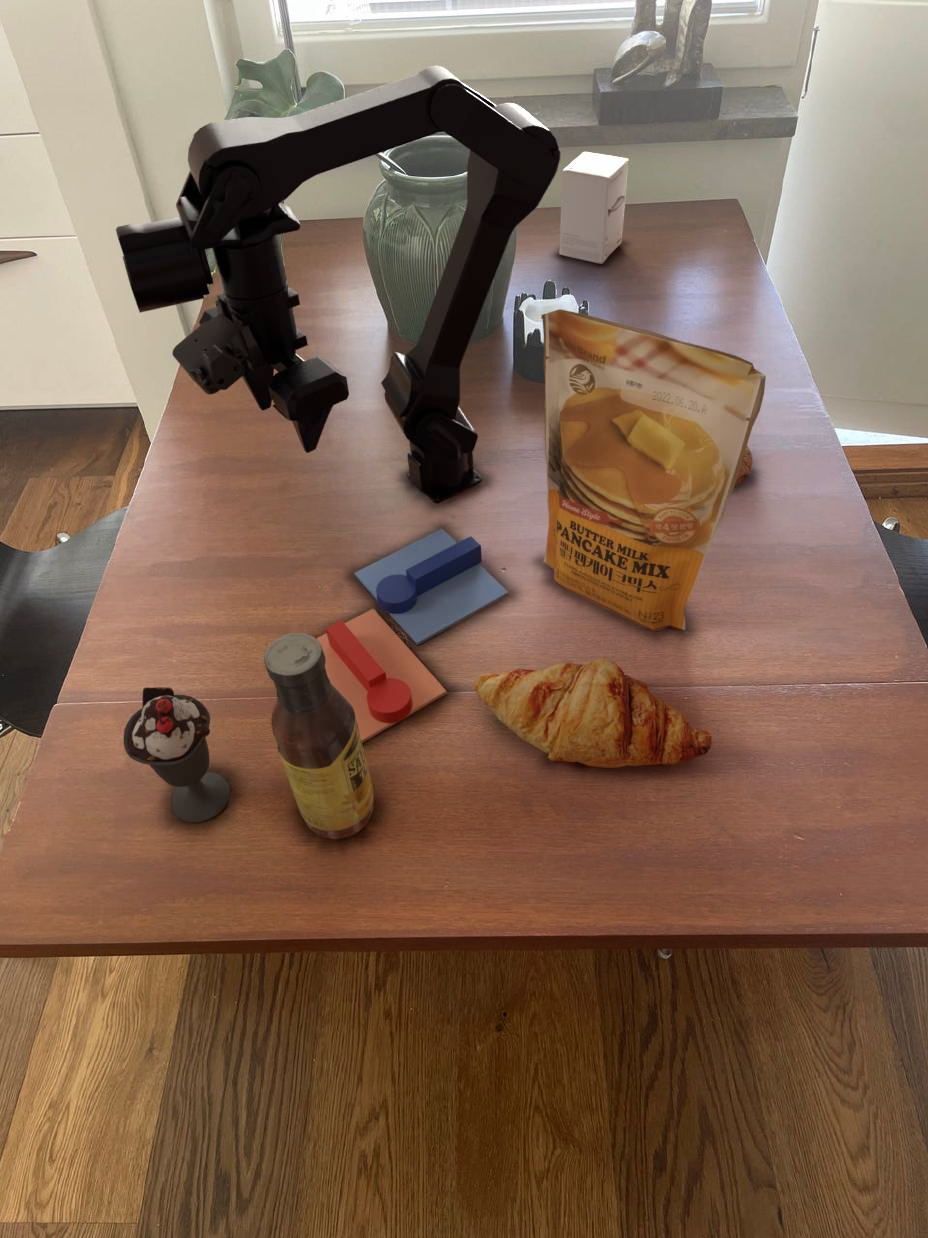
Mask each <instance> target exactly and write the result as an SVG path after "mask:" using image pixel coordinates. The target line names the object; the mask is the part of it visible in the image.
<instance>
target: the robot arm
mask: <svg viewBox="0 0 928 1238" xmlns="http://www.w3.org/2000/svg"><path fill="white" fill-rule="evenodd" d="M438 133H444V134H446V135H448V136H450V137H451V138H453V139H454V140H455V141H457V142H459V143H460V144H462V145H463V146H464V147H466V149H468V150H469V154H468V159H467V165H466V206H465V210H464V213H463V216H462V219H461V222H460V224H459V227H458V231H457V233H456V236H455V239H454V241H453V244H452V247H451V250H450V252H449V256H448V258H447V261H446V263H445V266H444V269H443V273H442V275H441V278H440V281H439V284H438V287H437V289H436V292H435V295H434V298H433V301H432V303H431V305H430V308H429V312H428V315H427V316H426V320H425V323H424V325H423V329H422V332H421V335H420V337H419V340H418V341H417V344H416V345H415V346H414V347H412V348H411V349H410V350H409V352H407V353H406V354H403V353H400V352H397V351H394V352H393V353H392V354H391V357H390V364H389V368H388V371H387V373H386V375H385V377H384V378H383V380H382V381H381V382H380V384H381V386H382V388H383V390H384V393H383V394H384V400H385V402H386V405H387V407H388V408H389V410H390V412H391V413H392V415H393V417H394V419H395V421H396V422H397V424H398V426H399V427H400V429H401V431H402V433H403V434H404V436H405V438H406V439H407V441H408V443H409V451H410V452H408V453H407V456H406V457H407V465H408V471H406V473H405V475H406V479H408V480H409V481H410V483H411V484H412V485H413V486H414V487H415V488H416V489H417V490H418V491H419V492H420V493H421V494H424V495H425V496H426V497H427V498H428V499H429V500H430V501H431V502H432V503H434V504H436V505H439V504H441V503H443V502H445V501H447V500H449V499H451V498H454V497H455V496H458V495H459V494H461V493H463V492H465V491H467V490H469V489H471V488H473V487H475V486H478V485H480V484H481V483H482V482H483V476H481V475H480V474H479V473H478V472H477V471H476V470H475V469H474V454H473V453H474V450H475V448H476V445H477V442H478V438H479V435H478V433H477V431H476V430H475V428H474V427H473V425H472V423H471V422H470V421H469V419H468V418H467V416H466V415H465V413H464V412H463V410H462V408H461V407H460V402H461V365H462V362H463V359H464V357H465V354H466V352H467V349H468V347H469V344H470V342H471V339H472V337H473V335H474V331H475V329H476V326H477V324H478V321H479V319H480V316H481V313H482V310H484V309H483V308H484V306H485V303H486V301H487V298H488V297H489V296H488V295H489V293H490V291H491V288H492V285H493V282H494V281H495V278H496V275H497V273H498V270H499V268H500V265H501V263H502V261H503V257H504V255H505V253H506V250H507V248H508V244H509V242H510V240H511V237H512V235H513V232H514V230H515V229H516V228H517V226H518V225H519V224H521V222H523V221H524V220H525V219H526V218H527V217H528V216H529V215H530V214H531V213H532V212H534V211H535V210H536V209H537V208H538V206H539V205H540V204H541V201H542V200H543V198H544V196H545V194H546V192H547V191H548V189H549V187H550V186H551V185H552V182H553V180H554V178H555V177H556V174H557V172H558V171H559V166H560V163H561V155H562V154H561V151H560V148H559V145H558V141H557V138H556V137H555V136H554V135H553V133H552V131H551V130H550V129H548V128H547V127H546V126H545V125H543V124H542V123H541V122H540V121H539V120H538V119H536V118H535V117H534V116H533V115H531V114H530V113H529V112H528V111H526V109H524V108H523V107H521V106H520V105H518V104H516V103H511V102H504V103H500V104H499V103H498V104H495V103H493V102H492V101H490V100H489V99H488V98H486V97H485V96H484V95H482V94H480V93H479V92H478V91H475V90H474V89H472V88H471V87H469V86H468V85H466V84H465V83H463V82H462V81H460V80H459V79H458V78H457V77H456V76H455V75H454V74H452V73H451V72H450V71H449V70H448V69H447V68H446V67H443V66H440V65H431V66H426V67H425V68H423V69H421V70H419V72H418V73H415V74H413V75H411V76H407V77H404V78H402V79H398V80H395V81H393V82H390V83H387V84H383V85H380V86H378V87H375V88H372V89H368V90H366V91H363V92H360V93H357V94H354V95H351V96H349V97H344V98H341V99H340V100H336V101H333V102H331V103H328V104H325V105H321V106H318V107H316V108H313V109H310V110H308V111H304V112H302V113H297V114H295V115H292V116H284V117H263V116H262V117H259V116H245V117H239V118H232V119H224V120H217V121H213V122H208V123H207V124H205V125H203V126H201V127H200V128H199V129H197V130H196V132H194V134H193V137H192V140H191V142H190V144H189V147H188V153H187V162H188V167H189V172H188V174H187V176H186V179H185V181H184V184H183V186H182V188H181V191H180V193H179V195H178V199H177V201H176V204H175V208H176V210H177V213H178V215H179V216H177V217H172V218H166V219H163V220H161V219H160V220H156V221H152V222H146V223H141V224H140V223H139V224H138V223H137V224H136V223H130V224H125V225H124V224H123V225H120V226H117V227H116V228H115V232H116V237H117V239H118V243H119V246H120V249H121V252H122V260H123V264H124V268H125V271H126V275H127V278H128V282H129V286H130V288H131V292H132V294H133V297H134V300H135V304H136V307H137V309H138V312H139V313H140V314H141V313H146V312H149V311H150V312H151V311H153V310H158V309H163V308H167V307H171V306H176V305H180V304H185V303H190V302H194V301H195V302H196V301H199V300H203V299H205V296H207V295H210V289H209V285H214V278H213V274H212V271H211V267H210V263H209V259H208V256H207V253H206V250H209V249H211V251H212V254H213V258H214V262H215V266H216V269H217V270H216V271H217V274H218V277H219V281H220V286H221V289H222V292H221V293H218V294H216V299H215V301H214V303H215V306H214V307H211V308H208V309H206V310H204V312H203V313H202V314H201V317H200V319H199V321H198V327H196V328H195V329H194V330H193V331H192V332H190V333H189V334H188V335H187V336H186V337H184V338H183V339H182V340H181V341H180V342H178V344H176V345H175V346H174V347H173V349H172V353H171V354H172V356H173V358H174V359H175V360H176V361H177V363H178V364H179V365H180V366H181V367H182V368H183V370H184V371H185V372H186V373H187V375H188V376H189V377H190V379H191V380H192V381H193V382H194V383H196V385H197V386H198V387H199V388H200V389H201V390H202V391H203V392H204V394H205V393H206V395H213V394H217V393H219V392H220V391H226V390H228V389H229V388H230V387H231V386H233V385H234V384H235V383H236V382H238V381H239V380H240V379H241V378H242V380H243V381H244V383H245V385H246V386H247V388H248V390H249V392H250V393H251V395H252V397H253V399H254V400H255V402H256V404H257V406H258V408H259V409H260V410H261V411H266V410H269V409H270V408H271V407H273V408H274V409H275V410H276V411H277V412H278V413H279V414H280V415H281V416H282V417H284V418H285V419H286V420H288V421H290V422H292V425H293V427H294V429H295V432H296V435H297V437H298V440H299V442H300V444H301V446H302V448H303V451H304V452H305V453H306V454H310V453H311V452H313V451H315V450H317V447H318V444H319V442H320V439H321V436H322V434H323V431H324V428H325V425H326V423H327V420H328V418H329V415H330V413H331V412H332V410H333V407H334V406H335V405H337V404H340V403H343V402H345V401H346V400H348V398H349V395H350V390H349V384H348V379H347V376H346V375H345V374H344V373H343V372H342V371H340V370H339V369H337V368H336V367H335V366H334V365H333V364H332V363H330V362H329V361H328V360H326V359H324V358H322V357H320V356H318V355H316V356H314V357H311V358H309V359H307V360H304V359H303V358H302V357H301V356H300V355H298V354H297V351H298V350H300V349H302V348H304V347H308V346H309V344H308V338H307V335H306V334H305V333H304V332H302V331H301V330H300V329H299V328H297V324H296V323H297V322H296V319H295V313H294V309H293V308H295V307H297V306H300V305H301V301H300V296H299V294H298V293H297V292H296V291H295V290H293V289H292V288H291V287H290V286H289V283H288V279H287V274H286V273H287V272H286V268H285V263H284V258H283V252H282V248H281V242H280V238H279V236H280V235H283V234H287V233H292V232H298V231H299V230H300V229H301V223H300V221H299V219H298V218H297V216H296V214H295V213H294V211H293V210H292V208H291V207H290V206H288V205H286V204H284V203H283V202H284V201H286V200H287V199H288V198H289V197H290V196H291V195H292V194H293V193H294V192H295V191H296V190H297V189H298V188H299V187H300V186H301V185H303V183H305V182H307V181H309V180H310V179H312V178H314V177H315V176H318V175H320V174H323V173H326V172H329V171H332V170H336V169H338V168H341V167H344V166H346V165H350V164H352V163H355V162H359V161H360V160H364V159H367V158H369V157H372V156H375V155H378V154H381V153H384V152H388V151H389V150H392V149H395V148H398V147H401V146H404V145H407V144H410V143H412V142H416V141H418V140H421V139H423V138H427V137H430V136H433V135H435V134H438ZM275 371H276V373H275ZM272 402H273V404H272Z"/></svg>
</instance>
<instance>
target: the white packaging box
mask: <svg viewBox="0 0 928 1238" xmlns="http://www.w3.org/2000/svg"><path fill="white" fill-rule="evenodd" d="M628 171H629V158H626V157H621V156H620V157H619V156H613V155H608V154H602V153H595V152H589V151H583V152H582V153H580V154H579V155H578V156H577V157H576V158H575V159H573V160H572V161H571V162H570V163H569V164H568V165H567V166H566V167H565V168H563V169H562V171H561V175H562V176H561V196H560V198H561V199H560V200H561V201H560V227H559V229H560V231H559V252H558V253H559V255H560V256H564V257H568V258H573V259H577V260H582V261H585V262H586V261H587V262H591V263H595V264H600V265H603V263H604V262H605V261H606V260H607V259H608V257H610V255H611V254H612V253H613V252H614V251H616V250H617V248H618V247H619V246H620V245H621V244H622V241H623V232H624V221H625V220H624V219H625V207H626V196H627V184H628V183H627V182H628ZM621 238H622V239H621ZM620 239H621V240H620ZM619 240H620V241H619ZM618 241H619V242H618ZM617 242H618V243H617ZM606 254H607V255H606ZM588 255H589V256H588ZM605 255H606V256H605Z"/></svg>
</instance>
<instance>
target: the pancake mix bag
mask: <svg viewBox="0 0 928 1238" xmlns="http://www.w3.org/2000/svg"><path fill="white" fill-rule="evenodd" d="M540 316H541V319H542V330H543V374H544V405H543V406H544V408H543V413H544V455H545V463H546V484H547V486H546V487H547V500H546V501H547V508H548V528H547V529H548V530H547V535H546V536H547V537H546V546H545V552H544V555H543V558H542V562H543V563H544V564H545V565H547V566H548V567H549V568H551V569H553V581H554V582H555V583H557V584H559V586H560V587H562V588H564V589H565V590H566V591H569V592H571V593H573V594H575V595H577V596H579V597H581V598H583V599H585V600H586V601H588V602H591V603H593V604H594V605H597V606H599V607H601V608H603V609H605V610H608V611H609V612H612V613H614V614H616V615H618V616H620V617H621V618H623V619H625V620H627V621H629V622H631V623H633V624H635V625H636V626H640V627H642V628H644V629H647V630H649V631H652V632H655V633H656V632H659V631H662V630H664V629H667V628H669V627H670V628H674V629H678V630H683V631H686V615H685V608H686V606H687V604H688V603H689V600H690V598H691V595H692V594H693V591H694V589H695V586H696V585H697V582H698V580H699V578H700V575H701V571H702V569H703V566H704V563H705V561H706V558H707V554H708V553H709V550H710V547H711V545H712V543H713V540H714V538H715V535H716V533H717V530H718V528H719V526H720V523H721V521H722V518H723V516H724V513H725V510H726V506H727V503H728V501H729V499H730V497H731V495H732V494H733V491H734V489H735V486H736V485H735V483H736V479H737V476H738V473H739V469H740V466H741V462H742V459H743V456H744V453H745V449H746V446H748V443H749V439H750V437H751V433H752V430H753V427H754V425H755V423H756V420H757V419H758V416H759V414H760V411H761V407H762V404H763V400H764V396H765V388H766V379H767V378H766V377H767V376H766V375H765V374H764V373H762V372H760V371H759V370H757V369H756V368H755V366H754V363H753V362H752V361H748V360H747V359H744V358H742V357H740V356H737V355H736V354H732V353H728V352H725V351H721V350H719V349H713V348H710V347H706V346H703V345H699V344H695V343H690V342H687V341H683V340H680V339H676V338H673V337H670V336H667V335H664V334H661V333H658V332H655V331H652V330H649V329H645V328H642V327H637V326H633V325H630V324H625V323H621V322H618V321H617V322H616V321H612V320H609V319H605V318H601V317H596V316H592V315H588V314H584V313H579V312H575V311H570V310H567V309H562V308H559V309H555V310H553V311H550V312H546V313H543V314H541V315H540Z"/></svg>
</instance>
